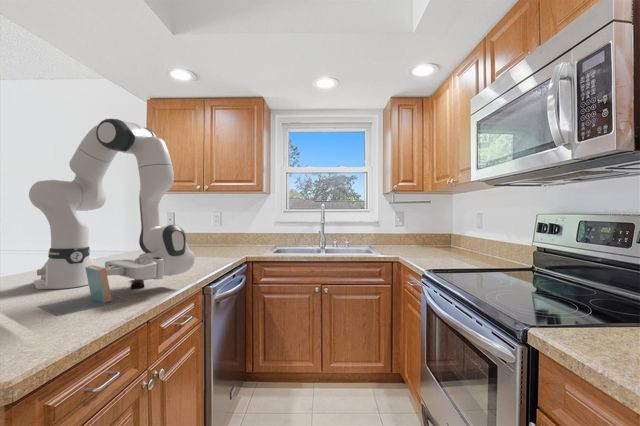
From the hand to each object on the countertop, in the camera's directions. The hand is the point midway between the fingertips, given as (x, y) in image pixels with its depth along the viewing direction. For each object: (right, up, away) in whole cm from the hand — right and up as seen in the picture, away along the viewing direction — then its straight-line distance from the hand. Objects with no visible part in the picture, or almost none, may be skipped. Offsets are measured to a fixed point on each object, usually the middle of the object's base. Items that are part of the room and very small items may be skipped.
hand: (102, 272), depth 94 cm
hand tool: (-3, -10, +23) cm, 25 cm away
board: (-3, -10, -3) cm, 11 cm away
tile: (-1, -8, +1) cm, 8 cm away
